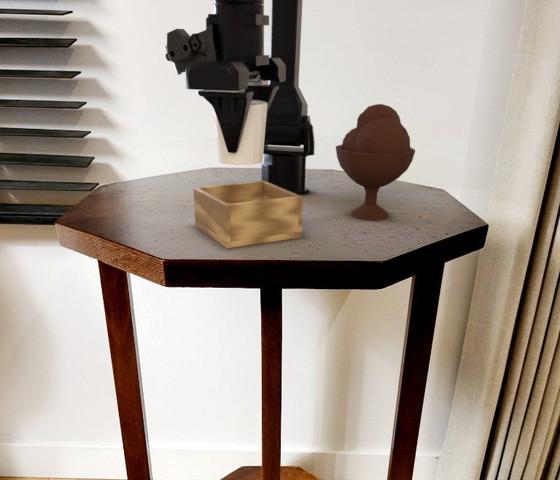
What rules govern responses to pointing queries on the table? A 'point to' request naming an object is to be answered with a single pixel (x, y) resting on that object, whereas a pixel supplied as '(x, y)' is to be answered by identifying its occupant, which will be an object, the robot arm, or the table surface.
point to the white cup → (245, 137)
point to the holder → (248, 213)
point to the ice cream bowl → (375, 156)
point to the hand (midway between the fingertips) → (241, 148)
